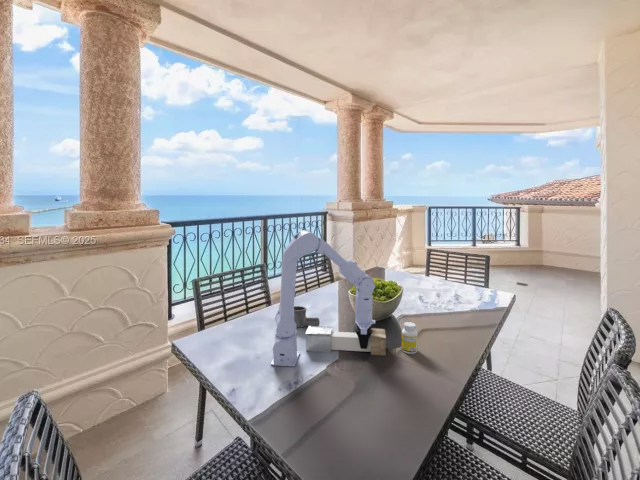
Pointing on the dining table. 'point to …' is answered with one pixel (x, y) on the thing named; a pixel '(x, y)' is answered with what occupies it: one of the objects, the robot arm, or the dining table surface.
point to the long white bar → (347, 342)
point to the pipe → (303, 318)
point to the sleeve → (318, 339)
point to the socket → (378, 342)
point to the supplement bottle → (409, 338)
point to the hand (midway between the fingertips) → (363, 345)
